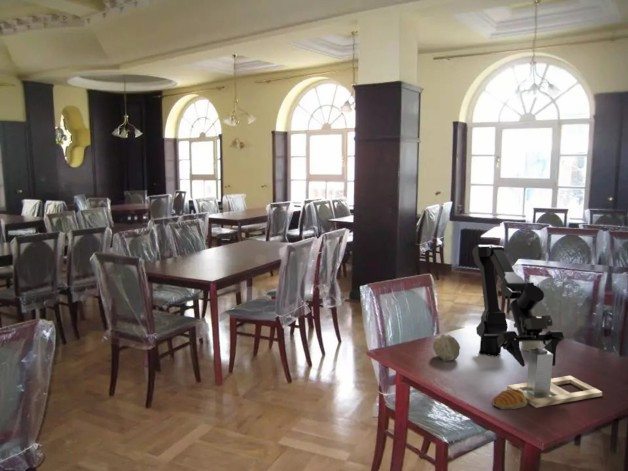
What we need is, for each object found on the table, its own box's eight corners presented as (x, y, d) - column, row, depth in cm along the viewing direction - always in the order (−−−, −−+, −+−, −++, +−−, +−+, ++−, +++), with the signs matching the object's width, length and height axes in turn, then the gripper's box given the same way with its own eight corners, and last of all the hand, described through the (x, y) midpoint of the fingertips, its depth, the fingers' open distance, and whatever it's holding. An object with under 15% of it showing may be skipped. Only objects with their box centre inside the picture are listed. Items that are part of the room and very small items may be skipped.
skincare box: (541, 349, 187) (543, 317, 185) (539, 353, 183) (541, 320, 182) (522, 346, 190) (524, 314, 189) (520, 349, 187) (522, 317, 185)
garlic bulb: (457, 368, 175) (467, 345, 171) (434, 365, 174) (444, 342, 170) (448, 350, 184) (458, 328, 180) (426, 347, 182) (435, 325, 178)
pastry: (504, 413, 140) (505, 400, 139) (486, 403, 146) (486, 390, 145) (528, 406, 144) (529, 393, 144) (509, 396, 150) (510, 384, 150)
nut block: (526, 390, 153) (529, 347, 151) (541, 390, 153) (544, 346, 151) (534, 398, 148) (537, 352, 146) (549, 397, 149) (553, 352, 147)
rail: (535, 407, 143) (536, 403, 143) (506, 389, 154) (507, 385, 154) (602, 395, 151) (602, 391, 151) (569, 379, 162) (570, 375, 162)
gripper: (504, 305, 152) (518, 355, 143) (564, 304, 153) (582, 354, 144) (490, 322, 161) (504, 370, 152) (548, 321, 162) (564, 369, 153)
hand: (538, 365), depth 150 cm, fingers open, 9 cm apart
